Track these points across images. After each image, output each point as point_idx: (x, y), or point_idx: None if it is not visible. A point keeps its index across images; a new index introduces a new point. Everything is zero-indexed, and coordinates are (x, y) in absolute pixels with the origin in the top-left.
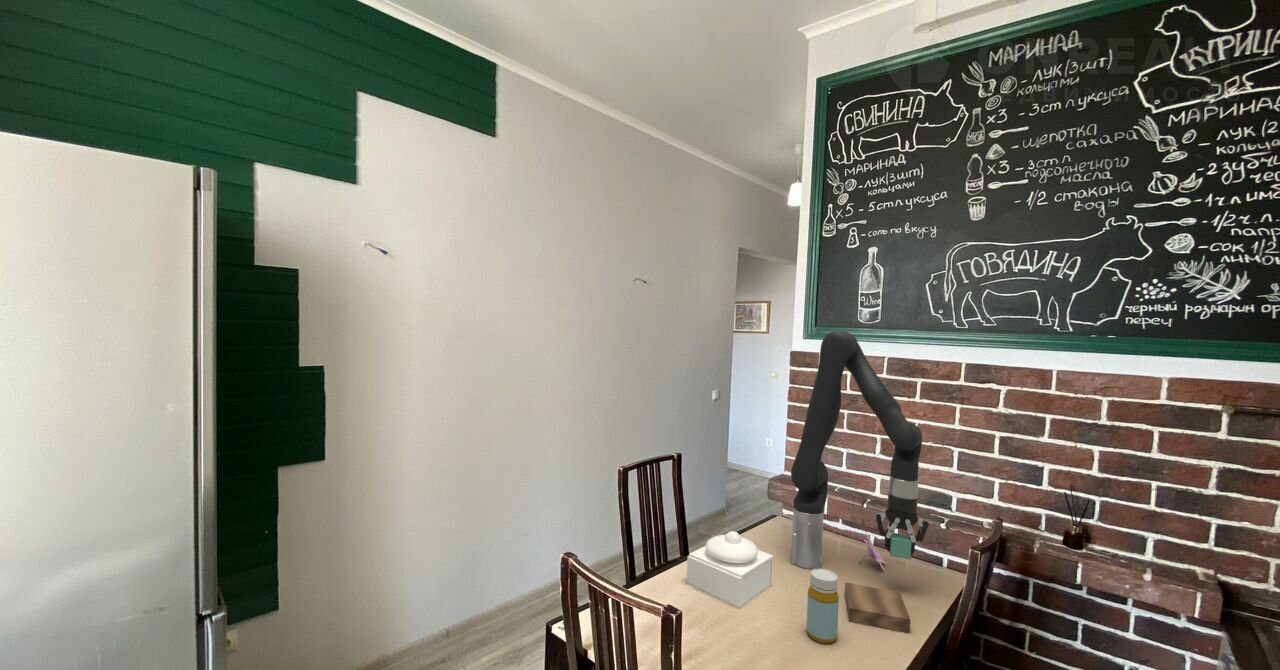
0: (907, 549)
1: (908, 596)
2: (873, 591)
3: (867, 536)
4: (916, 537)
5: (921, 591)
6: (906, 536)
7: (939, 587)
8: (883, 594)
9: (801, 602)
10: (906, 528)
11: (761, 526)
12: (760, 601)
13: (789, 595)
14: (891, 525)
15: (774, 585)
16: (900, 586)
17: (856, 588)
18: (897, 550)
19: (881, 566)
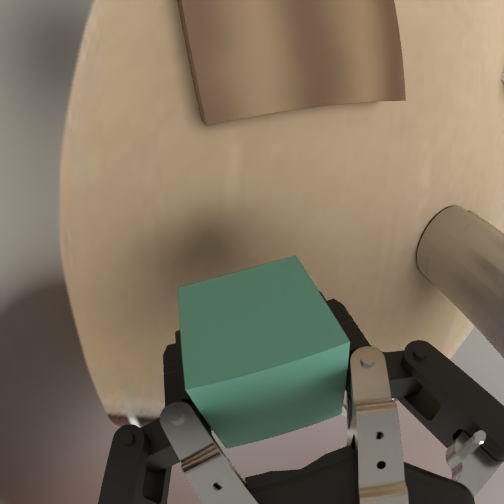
0: (205, 329)
1: (175, 210)
2: (314, 68)
3: None
4: (161, 446)
5: (142, 275)
6: (232, 434)
7: (107, 329)
8: (275, 61)
9: (455, 15)
10: (257, 490)
11: (468, 331)
12: (500, 7)
13: (476, 43)
14: (399, 446)
15: (497, 82)
16: (207, 267)
17: (372, 66)
18: (271, 295)
19: None
